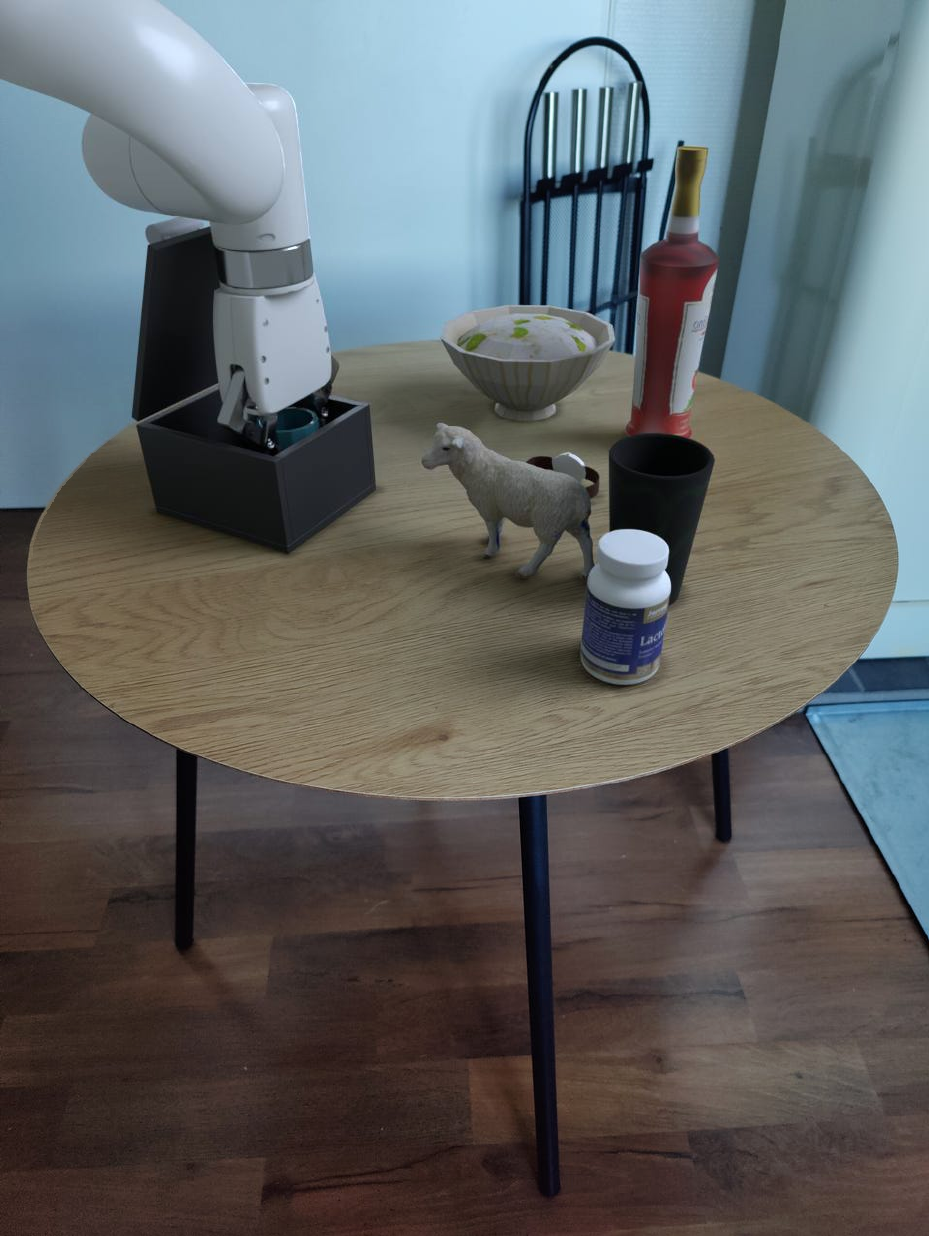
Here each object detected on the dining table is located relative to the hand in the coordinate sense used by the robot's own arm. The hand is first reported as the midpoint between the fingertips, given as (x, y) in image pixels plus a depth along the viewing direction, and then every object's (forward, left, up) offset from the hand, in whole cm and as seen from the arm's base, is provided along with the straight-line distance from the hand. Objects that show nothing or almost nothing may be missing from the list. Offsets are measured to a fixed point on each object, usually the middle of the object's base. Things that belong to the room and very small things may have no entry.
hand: (292, 468), depth 83 cm
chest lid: (-5, +6, +12) cm, 15 cm away
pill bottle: (+19, -31, -4) cm, 36 cm away
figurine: (+16, -15, -4) cm, 22 cm away
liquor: (+39, +2, -4) cm, 39 cm away
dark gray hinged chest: (-2, +2, -4) cm, 5 cm away
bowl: (+29, +15, -4) cm, 33 cm away
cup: (+25, -23, -4) cm, 34 cm away
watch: (+25, -5, -4) cm, 25 cm away
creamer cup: (0, 0, -1) cm, 1 cm away
